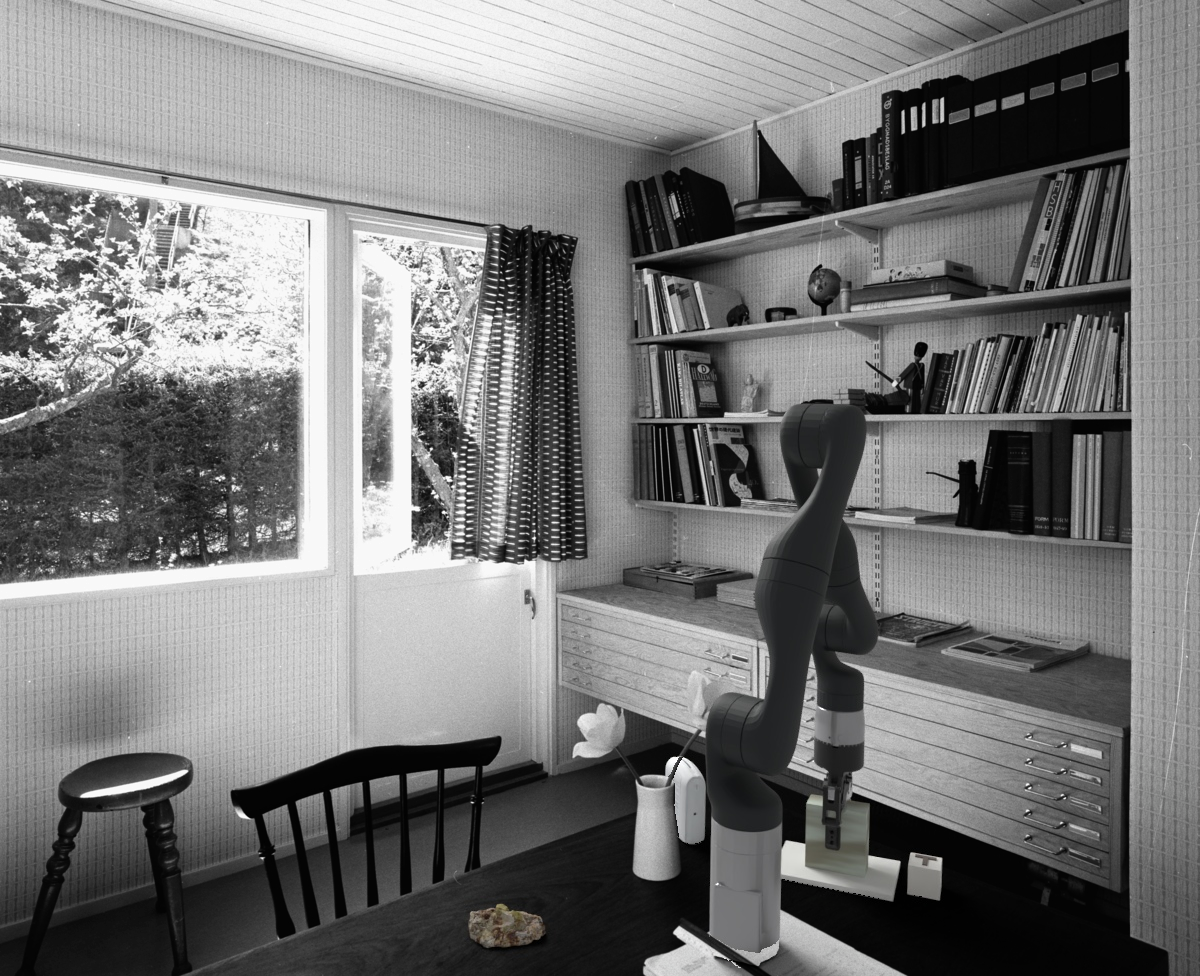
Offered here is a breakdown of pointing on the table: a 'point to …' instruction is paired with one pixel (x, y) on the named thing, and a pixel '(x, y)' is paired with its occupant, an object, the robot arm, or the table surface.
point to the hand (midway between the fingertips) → (836, 837)
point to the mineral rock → (504, 927)
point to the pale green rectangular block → (852, 839)
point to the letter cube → (924, 876)
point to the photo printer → (688, 800)
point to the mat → (874, 884)
